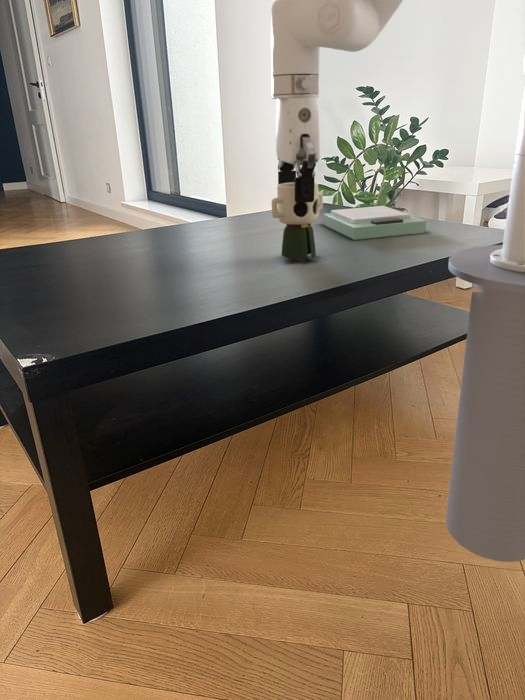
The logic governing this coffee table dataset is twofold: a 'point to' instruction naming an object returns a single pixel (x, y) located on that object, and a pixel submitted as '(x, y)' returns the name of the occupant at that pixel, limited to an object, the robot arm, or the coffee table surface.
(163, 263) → the coffee table surface
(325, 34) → the robot arm
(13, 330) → the coffee table surface
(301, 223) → the character mug
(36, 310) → the coffee table surface
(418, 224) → the scale
